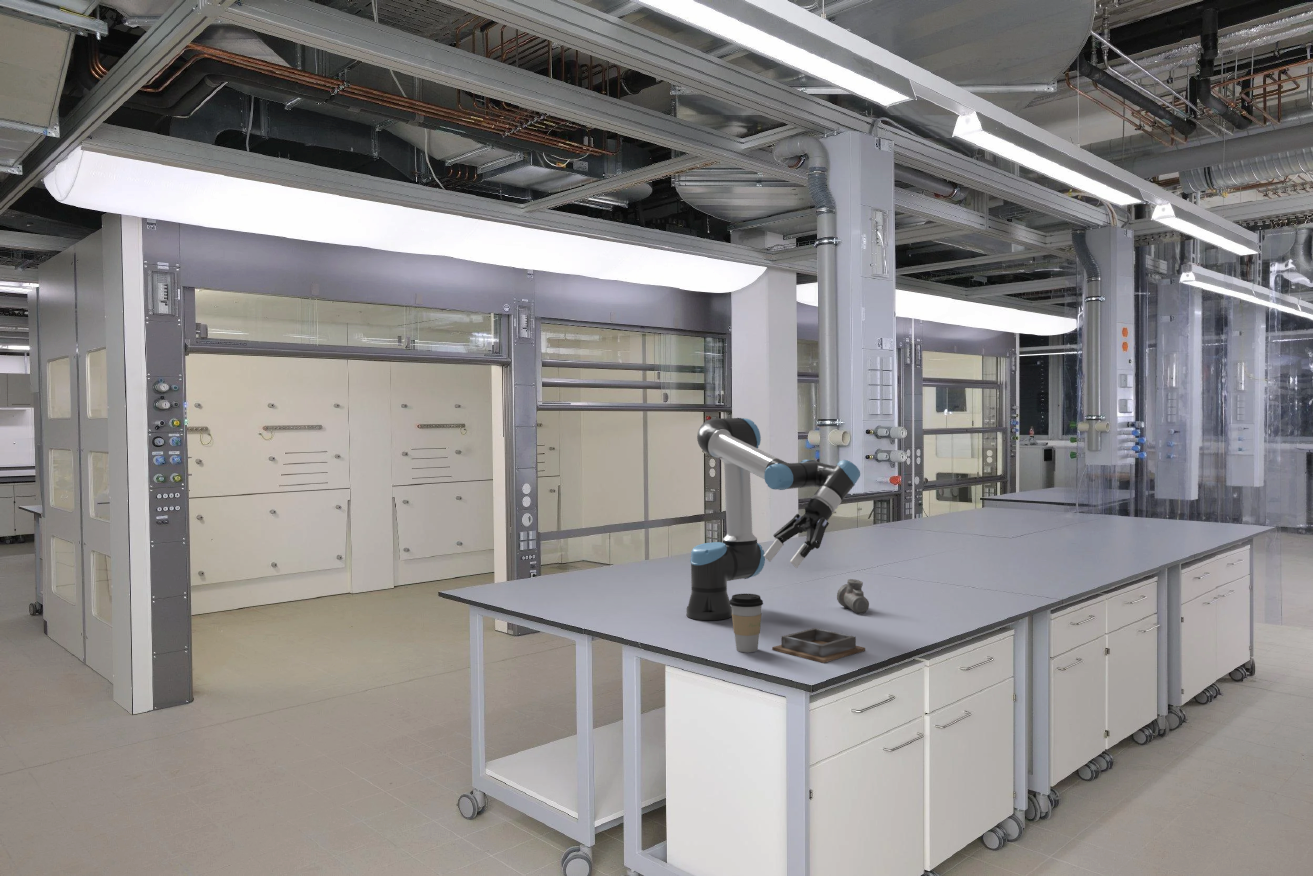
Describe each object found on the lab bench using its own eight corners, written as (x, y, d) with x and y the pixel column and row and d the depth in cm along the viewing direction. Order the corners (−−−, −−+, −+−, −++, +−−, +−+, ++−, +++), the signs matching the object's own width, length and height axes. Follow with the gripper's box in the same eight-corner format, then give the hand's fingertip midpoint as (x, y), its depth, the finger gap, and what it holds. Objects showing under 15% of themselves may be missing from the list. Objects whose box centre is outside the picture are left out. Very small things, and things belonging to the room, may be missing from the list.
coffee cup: (759, 655, 239) (758, 600, 239) (725, 652, 242) (725, 598, 242) (767, 646, 248) (766, 594, 248) (734, 644, 251) (734, 592, 251)
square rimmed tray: (772, 650, 245) (772, 636, 245) (814, 638, 256) (813, 625, 256) (823, 663, 231) (823, 648, 231) (865, 650, 243) (865, 636, 242)
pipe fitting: (834, 605, 299) (838, 576, 297) (857, 606, 300) (860, 577, 299) (847, 617, 287) (851, 587, 286) (871, 618, 288) (874, 588, 287)
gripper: (857, 517, 245) (813, 576, 239) (805, 511, 268) (764, 564, 261) (841, 499, 243) (797, 558, 236) (790, 494, 265) (748, 548, 259)
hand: (779, 561), depth 249 cm, fingers open, 13 cm apart
